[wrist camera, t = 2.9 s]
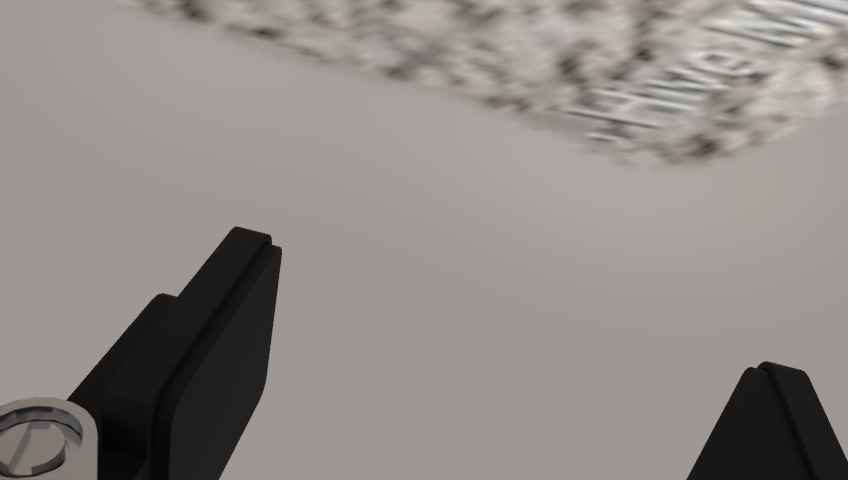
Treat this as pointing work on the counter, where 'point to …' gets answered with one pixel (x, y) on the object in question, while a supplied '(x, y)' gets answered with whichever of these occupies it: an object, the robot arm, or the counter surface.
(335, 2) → the counter surface
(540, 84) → the counter surface
